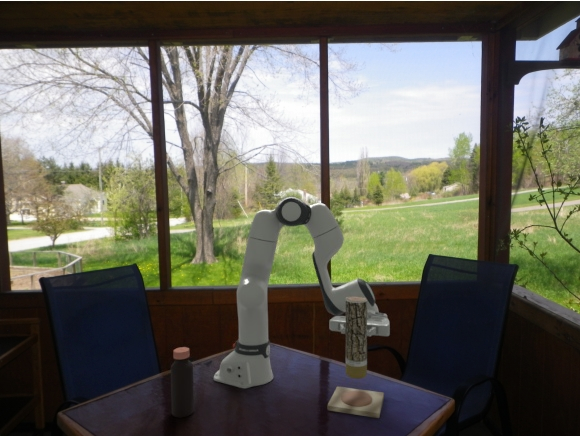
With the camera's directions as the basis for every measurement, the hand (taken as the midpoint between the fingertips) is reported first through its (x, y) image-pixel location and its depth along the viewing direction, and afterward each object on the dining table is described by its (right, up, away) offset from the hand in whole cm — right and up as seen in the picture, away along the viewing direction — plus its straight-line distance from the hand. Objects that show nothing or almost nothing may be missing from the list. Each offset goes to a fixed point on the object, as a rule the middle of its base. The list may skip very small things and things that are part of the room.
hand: (355, 332), depth 128 cm
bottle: (-55, -25, -2) cm, 60 cm away
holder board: (0, -23, +1) cm, 23 cm away
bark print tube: (0, -14, +1) cm, 14 cm away
